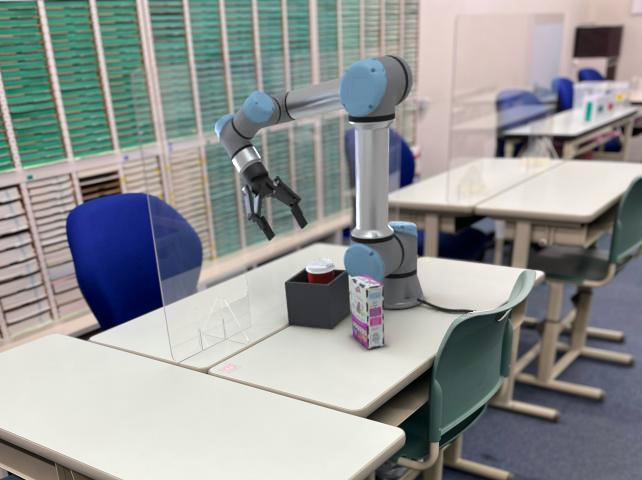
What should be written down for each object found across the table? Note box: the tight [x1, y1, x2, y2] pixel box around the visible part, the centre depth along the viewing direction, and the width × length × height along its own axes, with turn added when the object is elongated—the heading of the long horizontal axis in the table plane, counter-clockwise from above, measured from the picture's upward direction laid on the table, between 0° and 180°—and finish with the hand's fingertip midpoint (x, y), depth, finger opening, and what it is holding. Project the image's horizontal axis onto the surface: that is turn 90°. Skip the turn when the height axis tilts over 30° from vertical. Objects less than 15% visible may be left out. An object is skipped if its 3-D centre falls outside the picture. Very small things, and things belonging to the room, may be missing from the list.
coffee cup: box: [305, 258, 336, 284], centre depth 200 cm, size 8×8×15 cm
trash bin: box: [284, 267, 351, 330], centre depth 200 cm, size 14×14×13 cm
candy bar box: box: [349, 275, 385, 350], centre depth 181 cm, size 11×5×16 cm, turn 18°
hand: (288, 232), depth 202 cm, fingers open, 13 cm apart
